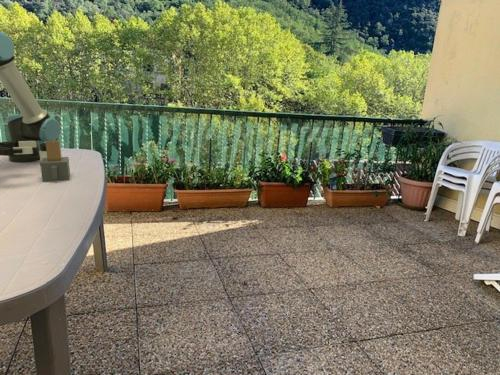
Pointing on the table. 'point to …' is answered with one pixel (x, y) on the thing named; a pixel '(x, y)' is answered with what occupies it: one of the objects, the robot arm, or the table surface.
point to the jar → (43, 151)
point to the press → (55, 170)
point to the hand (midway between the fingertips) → (34, 147)
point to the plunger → (53, 150)
